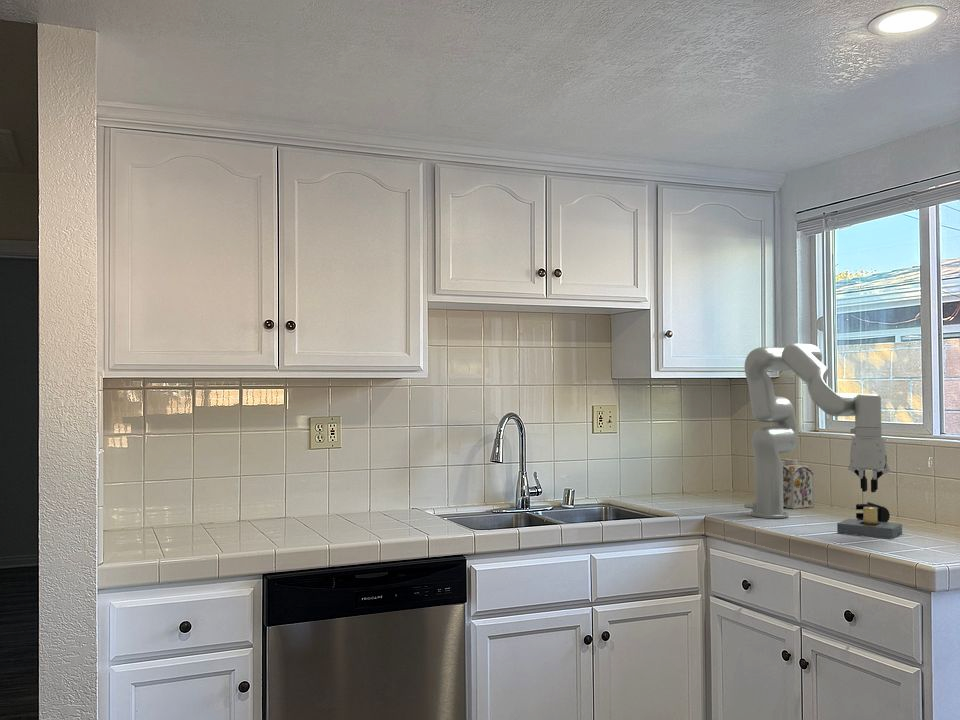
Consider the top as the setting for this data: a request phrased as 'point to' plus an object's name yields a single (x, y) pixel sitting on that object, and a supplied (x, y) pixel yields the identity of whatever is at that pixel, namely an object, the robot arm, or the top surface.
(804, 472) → the decorative jar
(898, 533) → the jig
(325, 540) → the top surface
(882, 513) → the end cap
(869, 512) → the beige cylinder
